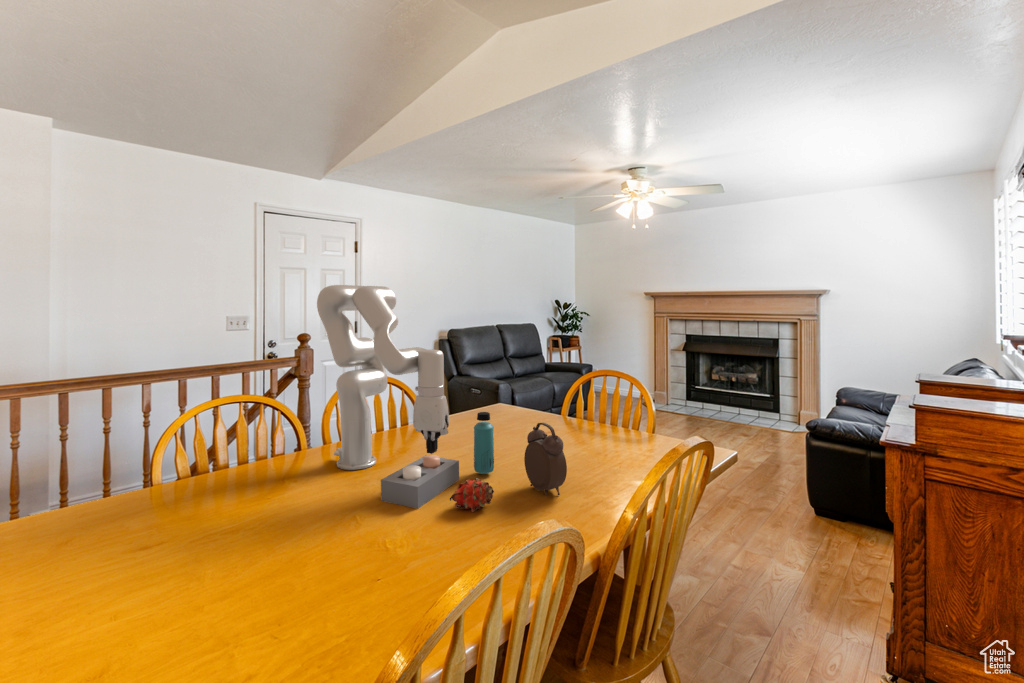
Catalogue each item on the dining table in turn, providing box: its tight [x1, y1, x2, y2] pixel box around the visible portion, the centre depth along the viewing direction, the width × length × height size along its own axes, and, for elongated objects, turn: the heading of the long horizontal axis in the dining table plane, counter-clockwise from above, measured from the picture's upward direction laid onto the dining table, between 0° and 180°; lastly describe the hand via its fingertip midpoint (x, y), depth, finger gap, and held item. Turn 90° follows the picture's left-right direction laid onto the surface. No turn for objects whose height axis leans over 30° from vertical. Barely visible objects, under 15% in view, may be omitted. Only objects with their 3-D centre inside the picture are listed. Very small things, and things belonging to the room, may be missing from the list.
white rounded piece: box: [402, 465, 421, 481], centre depth 132 cm, size 5×5×4 cm
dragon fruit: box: [449, 477, 495, 513], centre depth 125 cm, size 8×8×12 cm
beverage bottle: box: [473, 411, 495, 474], centre depth 148 cm, size 6×7×20 cm
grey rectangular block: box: [380, 455, 460, 510], centre depth 137 cm, size 12×22×6 cm, turn 157°
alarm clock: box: [523, 422, 568, 497], centre depth 136 cm, size 14×7×20 cm, turn 30°
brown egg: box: [422, 454, 441, 469], centre depth 141 cm, size 5×5×4 cm
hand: (432, 451), depth 140 cm, fingers closed
